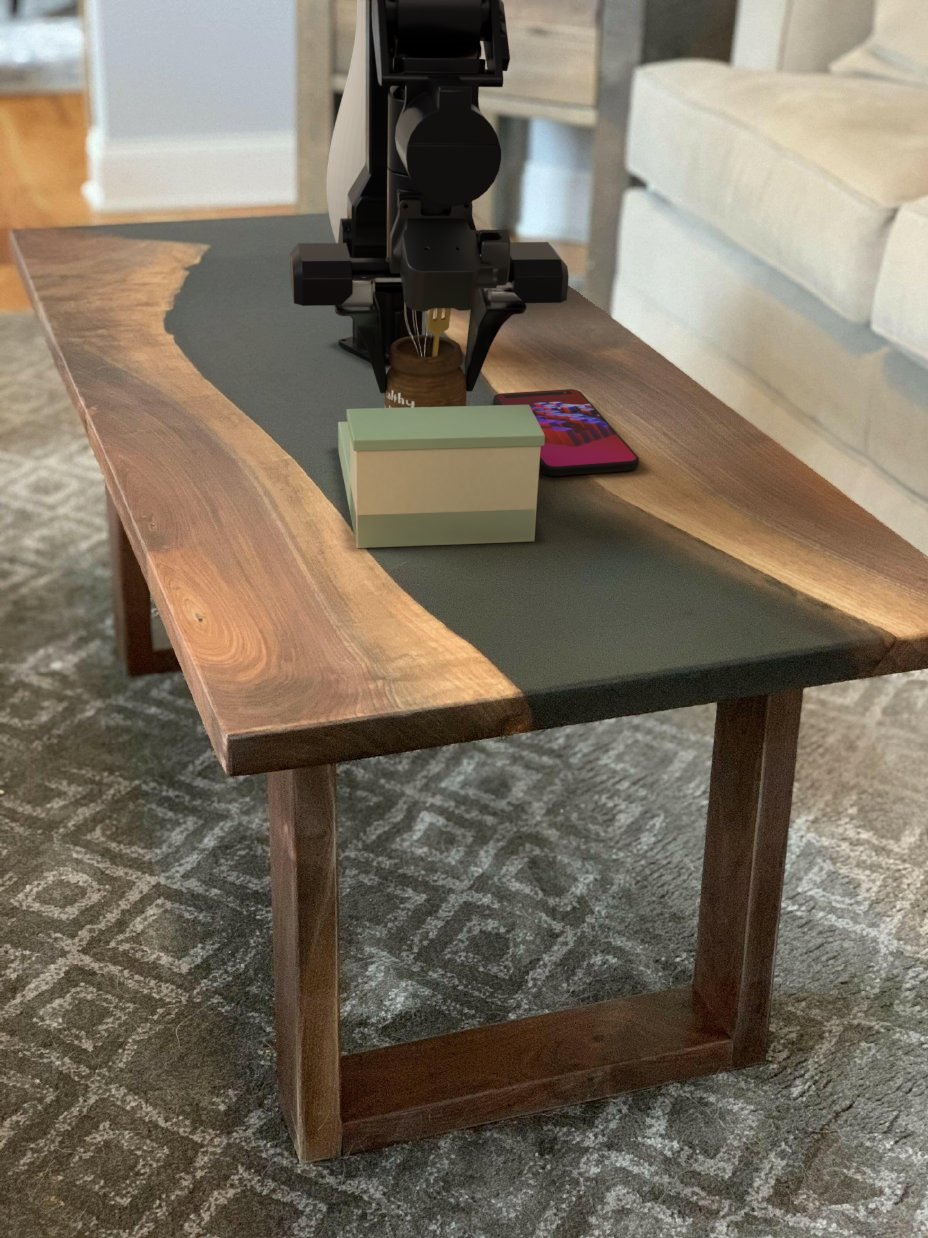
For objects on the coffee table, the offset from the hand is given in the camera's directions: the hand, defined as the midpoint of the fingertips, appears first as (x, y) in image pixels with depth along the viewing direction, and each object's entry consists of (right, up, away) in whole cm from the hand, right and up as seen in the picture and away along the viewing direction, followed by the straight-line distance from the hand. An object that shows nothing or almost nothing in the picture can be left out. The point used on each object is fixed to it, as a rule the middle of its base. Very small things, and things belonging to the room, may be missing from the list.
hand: (425, 390), depth 101 cm
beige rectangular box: (0, -7, 0) cm, 8 cm away
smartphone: (+11, -2, +10) cm, 15 cm away
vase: (-4, +17, +41) cm, 45 cm away
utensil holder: (0, -3, +2) cm, 4 cm away
